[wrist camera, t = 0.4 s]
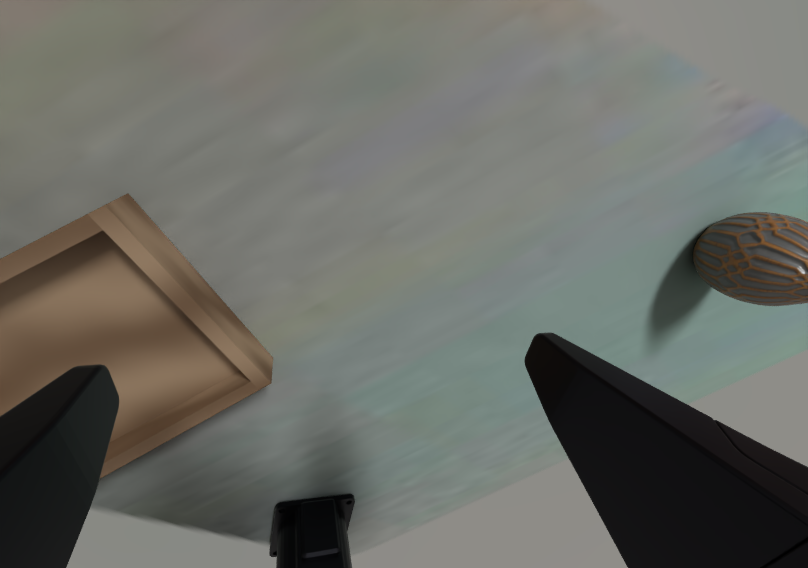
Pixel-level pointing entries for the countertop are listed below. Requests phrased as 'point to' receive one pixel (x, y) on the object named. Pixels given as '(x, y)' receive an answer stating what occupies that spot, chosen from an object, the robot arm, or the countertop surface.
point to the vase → (756, 258)
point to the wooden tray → (124, 327)
